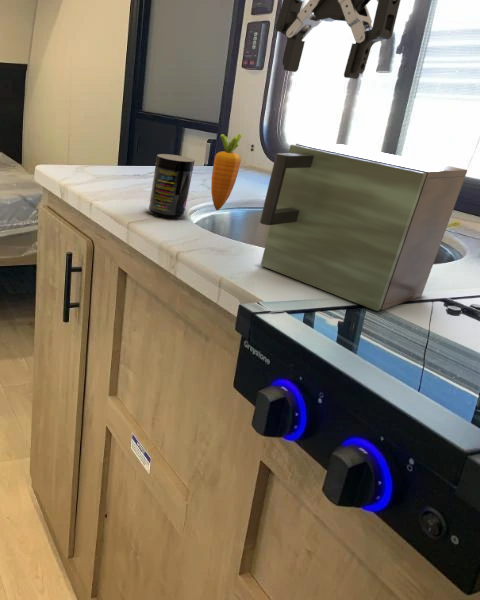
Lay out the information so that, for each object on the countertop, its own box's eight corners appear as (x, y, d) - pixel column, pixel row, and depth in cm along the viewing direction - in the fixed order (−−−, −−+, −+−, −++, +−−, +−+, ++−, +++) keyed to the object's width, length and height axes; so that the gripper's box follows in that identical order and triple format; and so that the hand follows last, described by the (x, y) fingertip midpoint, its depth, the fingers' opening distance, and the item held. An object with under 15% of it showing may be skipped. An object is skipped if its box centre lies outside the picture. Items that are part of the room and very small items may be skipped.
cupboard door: (349, 320, 71) (396, 174, 64) (231, 271, 83) (260, 144, 76) (380, 309, 75) (427, 173, 69) (264, 264, 88) (294, 144, 81)
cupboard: (381, 310, 76) (428, 171, 69) (265, 265, 88) (295, 143, 81) (421, 296, 83) (467, 169, 76) (309, 256, 95) (340, 144, 89)
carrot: (202, 209, 117) (218, 131, 112) (206, 205, 122) (222, 130, 116) (227, 214, 116) (244, 135, 110) (231, 210, 120) (248, 134, 115)
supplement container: (184, 222, 106) (195, 163, 102) (147, 216, 107) (156, 157, 103) (183, 213, 113) (193, 157, 109) (147, 208, 113) (156, 152, 109)
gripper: (436, -73, 65) (388, 83, 71) (321, -66, 75) (288, 71, 82) (403, -90, 61) (355, 78, 67) (286, -80, 71) (254, 66, 77)
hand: (318, 74), depth 74 cm, fingers open, 8 cm apart
